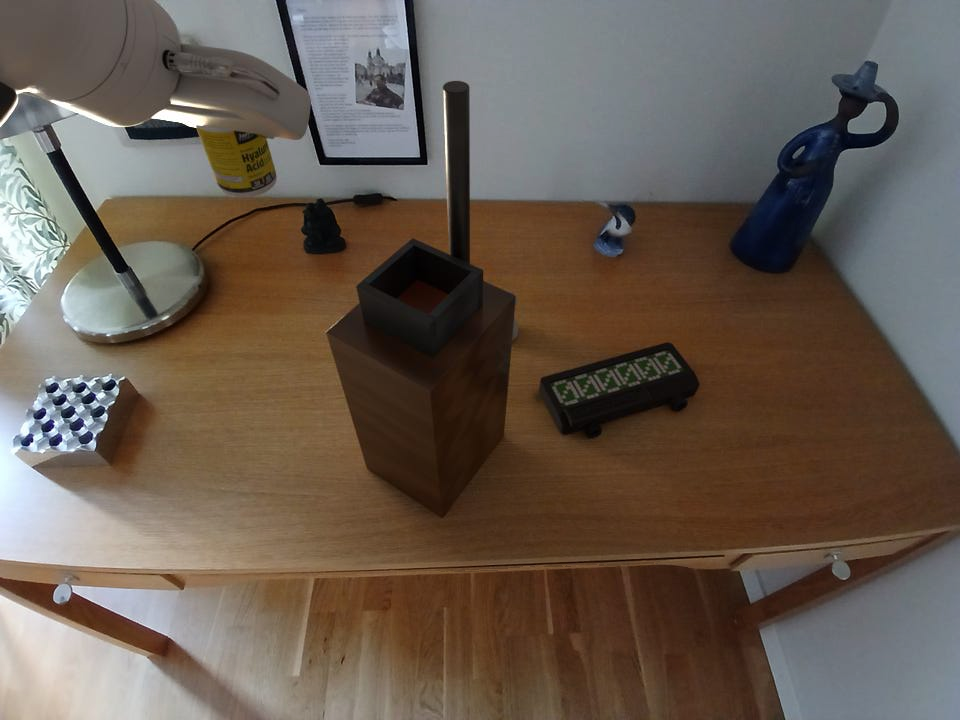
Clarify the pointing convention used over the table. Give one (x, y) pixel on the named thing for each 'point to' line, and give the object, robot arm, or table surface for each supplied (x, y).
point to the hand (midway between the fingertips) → (234, 123)
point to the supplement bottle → (238, 161)
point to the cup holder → (429, 349)
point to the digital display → (618, 388)
